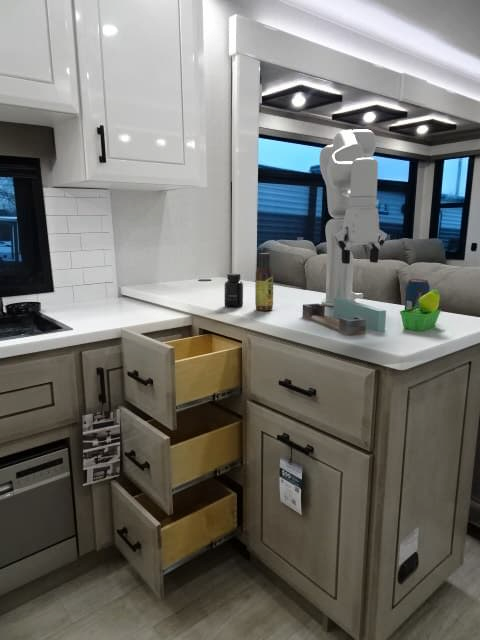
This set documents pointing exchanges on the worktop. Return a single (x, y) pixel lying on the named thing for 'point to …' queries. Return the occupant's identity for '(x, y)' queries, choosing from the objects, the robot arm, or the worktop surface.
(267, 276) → the sauce bottle
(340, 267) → the robot arm
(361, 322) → the endcap rail
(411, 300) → the soda can
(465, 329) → the worktop surface
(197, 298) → the worktop surface
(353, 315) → the slat
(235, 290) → the supplement bottle
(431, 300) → the fruit basket
